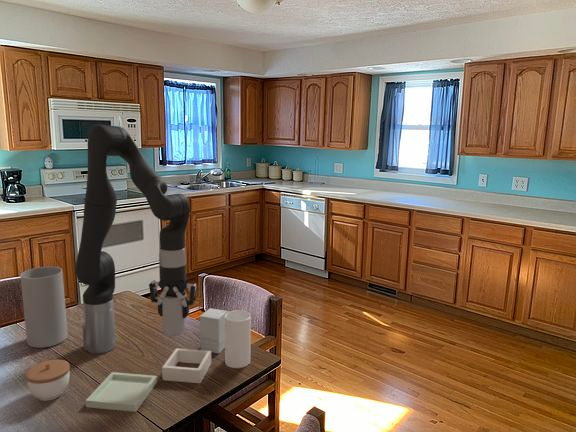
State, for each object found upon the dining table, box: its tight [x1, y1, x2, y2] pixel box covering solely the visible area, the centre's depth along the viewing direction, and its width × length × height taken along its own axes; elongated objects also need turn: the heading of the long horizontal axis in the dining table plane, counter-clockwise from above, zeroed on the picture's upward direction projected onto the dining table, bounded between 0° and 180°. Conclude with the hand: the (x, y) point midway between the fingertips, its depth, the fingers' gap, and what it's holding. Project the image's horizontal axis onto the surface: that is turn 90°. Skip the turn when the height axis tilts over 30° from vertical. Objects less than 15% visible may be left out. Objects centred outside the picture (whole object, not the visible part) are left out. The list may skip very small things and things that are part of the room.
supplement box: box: [199, 307, 229, 354], centre depth 148 cm, size 7×7×13 cm
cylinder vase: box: [19, 266, 69, 349], centre depth 149 cm, size 12×12×25 cm
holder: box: [161, 348, 212, 384], centre depth 134 cm, size 12×12×4 cm
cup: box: [224, 309, 252, 369], centre depth 139 cm, size 8×8×16 cm
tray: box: [85, 371, 158, 413], centre depth 122 cm, size 14×14×2 cm
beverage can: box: [162, 294, 186, 337], centre depth 128 cm, size 6×6×12 cm
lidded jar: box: [25, 359, 71, 402], centre depth 121 cm, size 11×11×9 cm
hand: (173, 316), depth 129 cm, fingers closed on beverage can, 6 cm apart
